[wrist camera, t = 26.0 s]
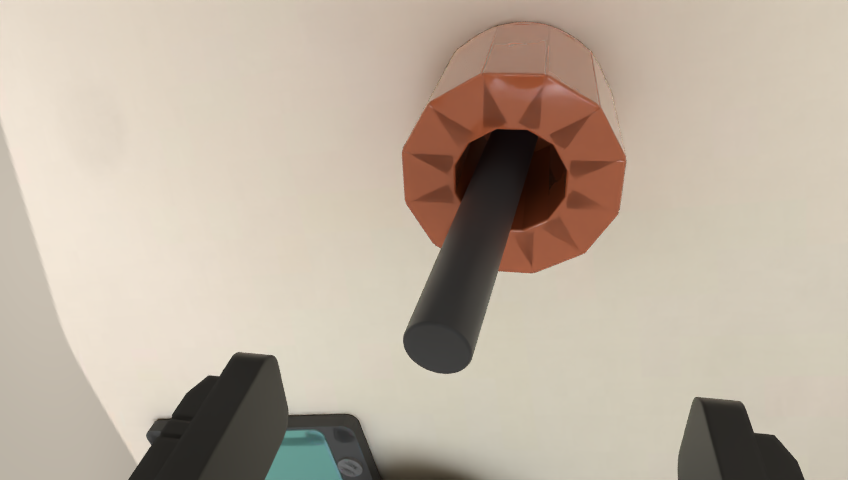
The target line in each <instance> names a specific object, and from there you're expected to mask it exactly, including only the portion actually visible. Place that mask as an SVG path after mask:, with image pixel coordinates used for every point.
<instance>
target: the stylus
mask: <svg viewBox="0 0 848 480" xmlns="http://www.w3.org/2000/svg"><path fill="white" fill-rule="evenodd" d="M537 139H538V136H537V135H535V134H533V133H532V132H530V131H528V130H509V129H496V130H494V131H492V132H491V134H490V137H489V139H488V141H487V144H486V146H485V148H484V150H483V153H482V155H481V157H480V160H479V162H478V164H477V167H476V169H475V171H474V174H473V176H472V178H471V181H470V183H469V185H468V187H467V190H466V192H465V194H464V197H463V199H462V201H461V204H460V206H459V208H458V211H457V213H456V215H455V217H454V220H453V222H452V224H451V227H450V229H449V231H448V234H447V236H446V238H445V241H444V243H443V245H442V248H441V250H440V252H439V254H438V257H437V259H436V261H435V264H434V266H433V268H432V271H431V273H430V275H429V278H428V280H427V282H426V285H425V287H424V289H423V291H422V294H421V296H420V298H419V301H418V303H417V305H416V308H415V310H414V312H413V315H412V317H411V319H410V321H409V324H408V326H407V328H406V331H405V333H404V337H403V343H404V348H405V350H406V352H407V354H408V355H409V357H410V358H411V359H412V360H413V361H414V362H415V363H417V364H418V365H420V366H421V367H423V368H425V369H427V370H430V371H433V372H436V373H443V374H450V373H456V372H459V371H461V370H463V369H464V368H465V367H466V366H468V365H469V363H470V362H471V360H472V356H473V353H474V350H475V346H476V343H477V340H478V336H479V333H480V330H481V326H482V323H483V320H484V316H485V313H486V310H487V306H488V303H489V300H490V296H491V293H492V290H493V286H494V283H495V280H496V276H497V273H498V270H499V266H500V263H501V260H502V256H503V253H504V249H505V246H506V243H507V239H508V236H509V233H510V229H511V226H512V223H513V219H514V216H515V213H516V209H517V206H518V203H519V199H520V196H521V193H522V189H523V186H524V183H525V179H526V176H527V173H528V169H529V166H530V163H531V159H532V156H533V153H534V149H535V146H536V143H537Z"/></svg>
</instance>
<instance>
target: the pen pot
mask: <svg viewBox="0 0 848 480" xmlns="http://www.w3.org/2000/svg"><path fill="white" fill-rule="evenodd" d="M496 129H509V130H528V131H530V132H532V133H533V134H535V135H537V136H538V139H537V143H536V146H535V149H534V153H533V156H532V159H531V163H530V166H529V169H528V173H527V176H526V179H525V183H524V186H523V189H522V193H521V196H520V199H519V203H518V206H517V209H516V213H515V216H514V219H513V223H512V226H511V229H510V233H509V236H508V239H507V243H506V246H505V249H504V253H503V256H502V260H501V263H500V266H499V270H498V271H505V272H519V273H533V272H534V273H536V272H538V271H541V270H543V269H546V268H549V267H551V266H554V265H556V264H559V263H561V262H564V261H567V260H569V259H572V258H574V257H577V256H579V255H582V254H583V253H585V252H586V251H587V250H588V249H589V248H590V247H591V245H592V244H593V243H594V242H595V241H596V240H597V238H598V237H599V236H600V235H601V234H602V233H603V231H604V230H605V229H606V228H607V227H608V225H609V224H610V223H611V222H612V221H613V220H614V218H615V217H616V216H617V215H618V213H619V212H618V211H619V210H620V203H621V196H622V189H623V182H624V175H625V168H626V154H625V150H624V145H623V141H622V137H621V132H620V128H619V123H618V119H617V114H616V110H615V105H614V101H613V97H612V92H611V90H610V88H609V86H608V84H607V82H606V79H605V77H604V74H603V72H602V69H601V67H600V66H599V64H598V62H597V60H596V59H595V57H594V55H593V53H592V52H591V51H590V50H589V49H588V48H586V47H585V46H584V45H583V44H582V43H581V42H580V41H579V40H577V39H576V38H574V37H573V36H571V35H570V34H568V33H566V32H564V31H562V30H560V29H558V28H555V27H552V26H549V25H545V24H541V23H534V22H515V23H508V24H503V25H497V26H495V27H493V28H490V29H488V30H486V31H484V32H482V33H480V34H478V35H477V36H475V37H474V38H472V39H471V40H469V41H468V42H467V43H466V44H465V45H463V46H462V47H460V48H458V49H457V50H456V51H455V53H454V55H453V56H452V58H451V60H450V62H449V64H448V65H447V67H446V69H445V71H444V73H443V74H442V76H441V78H440V80H439V82H438V84H437V85H436V87H435V89H434V91H433V93H432V95H431V96H430V98H429V100H428V102H427V104H426V106H425V108H424V109H423V111H422V113H421V115H420V117H419V119H418V121H417V123H416V124H415V126H414V128H413V130H412V132H411V134H410V136H409V137H408V139H407V141H406V143H405V145H404V147H403V150H402V165H403V180H404V195H405V202H406V204H407V206H408V207H409V209H410V210H411V212H412V213H413V215H414V216H415V218H416V219H417V220H418V222H419V223H420V225H421V226H422V228H423V229H424V231H425V232H426V234H427V235H428V237H429V238H430V240H431V241H432V242H433V244H435V245H436V246H438V247H439V248H442V245H443V243H444V241H445V238H446V236H447V234H448V231H449V229H450V227H451V224H452V222H453V220H454V217H455V215H456V213H457V211H458V208H459V206H460V204H461V201H462V199H463V197H464V194H465V192H466V190H467V187H468V185H469V183H470V181H471V178H472V176H473V174H474V171H475V169H476V167H477V164H478V162H479V160H480V157H481V155H482V153H483V150H484V148H485V146H486V144H487V141H488V139H489V137H490V134H491V132H492V131H494V130H496Z"/></svg>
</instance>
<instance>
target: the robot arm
mask: <svg viewBox="0 0 848 480" xmlns="http://www.w3.org/2000/svg"><path fill="white" fill-rule="evenodd" d="M287 424H288V406H287V401H286V397H285V392H284V388H283V383H282V379H281V374H280V370H279V366H278V362H277V359H276V357H275V356H273V355H263V354H253V353H242V352H238V353H236V354H234V355H233V356H232V358H231V359H230V361H229V362H228V364H227V365H226V367H225V368H224V370H223V372H222V373H221V375H220V376H207V377H206V378H205V379H204V380H202V381H201V382H200V383H199V384H197V385H196V386H195V387H194V388H193V389H191V390H190V391H189V392H188V393H186V395H185V396H184V398H183V399H182V401H181V402H180V404H179V405H178V407H177V408H176V410H175V411H174V413H173V414H172V419H169V420H168V422H167V423H166V425H165V426H164V428H163V429H162V431H161V432H160V433H161V434H160V437H157V438H156V439H155V441H154V442H153V444H152V445H151V447H150V448H149V450H148V451H147V453H146V454H145V456H144V457H143V459H142V460H141V462H140V463H139V465H138V466H137V468H136V469H135V471H134V472H133V473H132V475H131V477H130V478H129V480H265V478H266V476H267V474H268V472H269V469H270V467H271V465H272V463H273V461H274V459H275V456H276V454H277V452H278V450H279V448H280V445H281V443H282V441H283V439H284V436H285V433H286V429H287ZM678 480H804V477H803V474H802V472H801V469H800V467H799V464H798V462H797V460H796V459H795V458H794V457H793V456H792V455H791V454H790V452H789V451H788V450H787V449H786V448H785V447H784V446H783V444H782V443H781V442H780V441H779V440H778V439H777V438H776V436H775V435H769V434H759V433H754V432H753V429H752V426H751V423H750V420H749V417H748V414H747V411H746V409H745V407H744V405H743V403H742V402H740V401H733V400H722V399H712V398H701V397H696V398H694V400H693V402H692V405H691V409H690V413H689V417H688V420H687V424H686V428H685V432H684V436H683V439H682V443H681V447H680V451H679V456H678Z"/></svg>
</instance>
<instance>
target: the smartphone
mask: <svg viewBox="0 0 848 480" xmlns="http://www.w3.org/2000/svg"><path fill="white" fill-rule="evenodd" d="M167 422H168V420H157V421H155V423H154V424H153V425H152V427H151V428H150V430H149V431H148V432H147V434H146V436H147V439H148V440H149V442H150V444H151V445H152V444H153V442H154V441H155V439H156V438H157V437H160V434H161V433H160V432H161V431H162V429H163V428H164V426H165V425H166V423H167ZM265 480H381V478H380V476H379V473H378V471H377V468H376V465H375V463H374V460H373V458H372V455H371V452H370V450H369V447H368V445H367V442H366V439H365V437H364V434H363V431H362V429H361V426H360V424H359V421H358V420H357V419H356V418H355V417H353V416H351V415H347V414H344V415H312V416H288V424H287V429H286V433H285V436H284V439H283V441H282V443H281V445H280V448H279V450H278V452H277V454H276V456H275V459H274V461H273V463H272V465H271V467H270V469H269V472H268V474H267V476H266V478H265Z"/></svg>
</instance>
